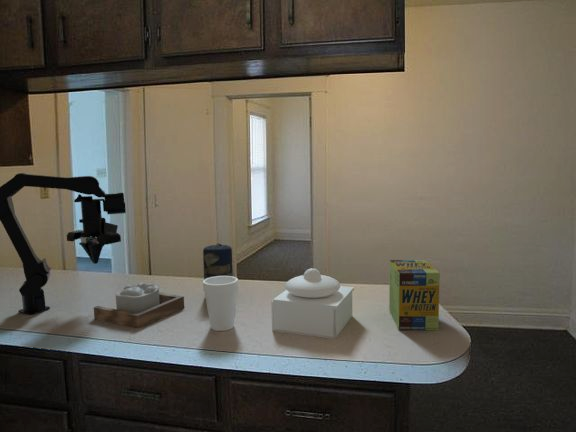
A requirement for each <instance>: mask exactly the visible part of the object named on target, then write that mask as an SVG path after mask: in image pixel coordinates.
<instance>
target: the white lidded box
mask: <svg viewBox="0 0 576 432" xmlns="http://www.w3.org/2000/svg"><path fill="white" fill-rule="evenodd" d="M284 286H285V290H284V291H283V292H281V293H280V294H279V295H277V296H276V297H274V298H273V299H272V300H271V330H272V332H279V333H287V334H295V335H300V336H301V335H303V336H309V337H311V336H312V337H317V338H324V339H325V338H326V339H332V340H336V339H338V338H337V337H338V336H339V335H340V334H341V332H342V331H343V330H344V328H345V327H346V326H347V325H348V323H349V322H350V321H351V319H352V318H353V292H354V290H355V287H354V286H345V285H340V282H339V281H338V280H337V279H336V278H333V277H332V276H328V275H323V274H321V272H320V271H319V270H318V269H317V268H314V267H313V268H312V267H311V268H308V269H306V270H305V272H304V273H303V274H302V275H297V276H295V277H292V278H290V279H288V280H287V282H286V283H285V285H284Z"/></svg>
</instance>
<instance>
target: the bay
mask: <svg viewBox="0 0 576 432" xmlns="http://www.w3.org/2000/svg"><path fill="white" fill-rule="evenodd" d="M159 303H160V304H159V305H157V306H154V307H152V308H150V309H147V310H145V311H142V312H140V313H133V312H128V311H122V310H117V308H110V307H106V306H100V305H97V306H94V307H93V318H94V320H98V321H102V322H108V323H112V324H117V325H121V326H127V327H132V328H136V329H140V328H142V327H144V326H146V325H149V324H151V323H153V322H155V321H158V320H160V319H162V318H164V317H166V316H168V315H171V314H173V313H175V312H177V311H179V310H181V309H184V308H185V296H183V295H176V294H171V293H164V292H159Z"/></svg>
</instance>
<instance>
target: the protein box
mask: <svg viewBox="0 0 576 432" xmlns="http://www.w3.org/2000/svg"><path fill="white" fill-rule="evenodd" d="M440 274H441V273H440V271H438V270H437V269H436V268H435V267H434V266H433V265H432V264H430V263H429V262H428V261H427V260H426V259H425V260H423V259H422V260H421V259H390V260H389V280H388V281H389V289H388V290H389V292H388V293H389V295H388V296H389V297H388V302H389V303H388V305H389V306H388V309H389V313H390V315H391V318H392V320H393V322H394V324H395V325H396V327H397V329H398V331H439V321H440V320H439V319H440V318H439V314H440V311H439V310H440Z"/></svg>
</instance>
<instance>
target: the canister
mask: <svg viewBox="0 0 576 432" xmlns="http://www.w3.org/2000/svg"><path fill="white" fill-rule="evenodd" d="M202 252H203V253H202V256H203V257H202V259H203V260H202V261H203V280H205V279H206V278H210V277H215V276H233V277H234V272H233V271H234V269H233V249H232V247H231V246H230V245H227V244H221V243H216V244H214V245H213V244H212V245H208V246H205V247H204V248H203V250H202Z"/></svg>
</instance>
